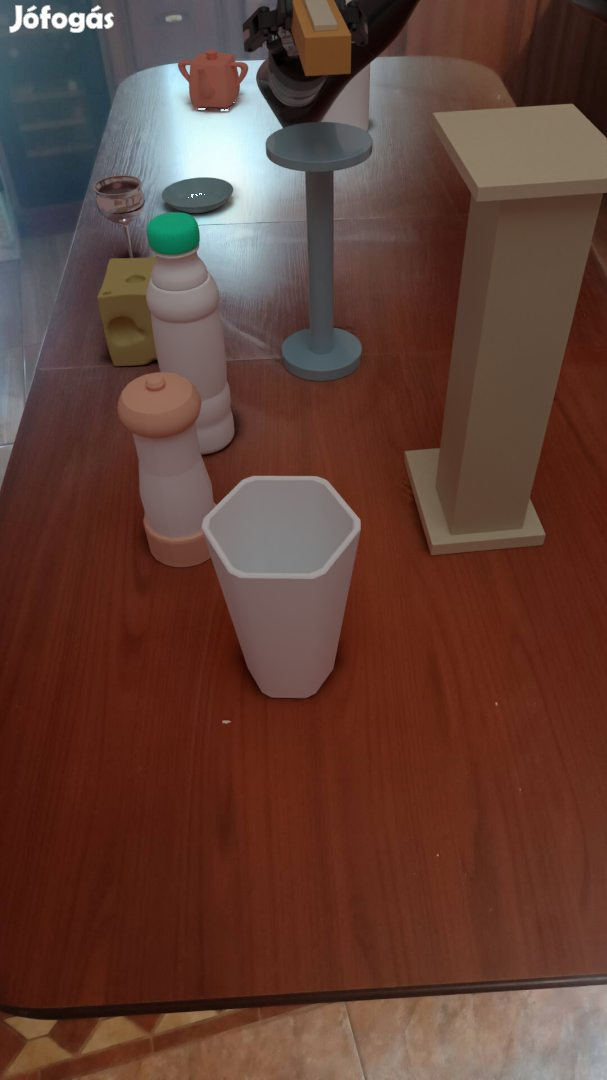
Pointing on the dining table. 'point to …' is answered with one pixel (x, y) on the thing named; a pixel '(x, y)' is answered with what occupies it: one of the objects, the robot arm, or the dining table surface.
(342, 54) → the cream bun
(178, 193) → the saucer
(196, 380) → the water bottle
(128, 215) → the wineglass
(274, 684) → the cup
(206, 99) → the brown sugar bowl
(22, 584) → the dining table surface
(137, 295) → the cheese
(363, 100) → the wine bottle
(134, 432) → the salt shaker
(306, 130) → the cake stand
